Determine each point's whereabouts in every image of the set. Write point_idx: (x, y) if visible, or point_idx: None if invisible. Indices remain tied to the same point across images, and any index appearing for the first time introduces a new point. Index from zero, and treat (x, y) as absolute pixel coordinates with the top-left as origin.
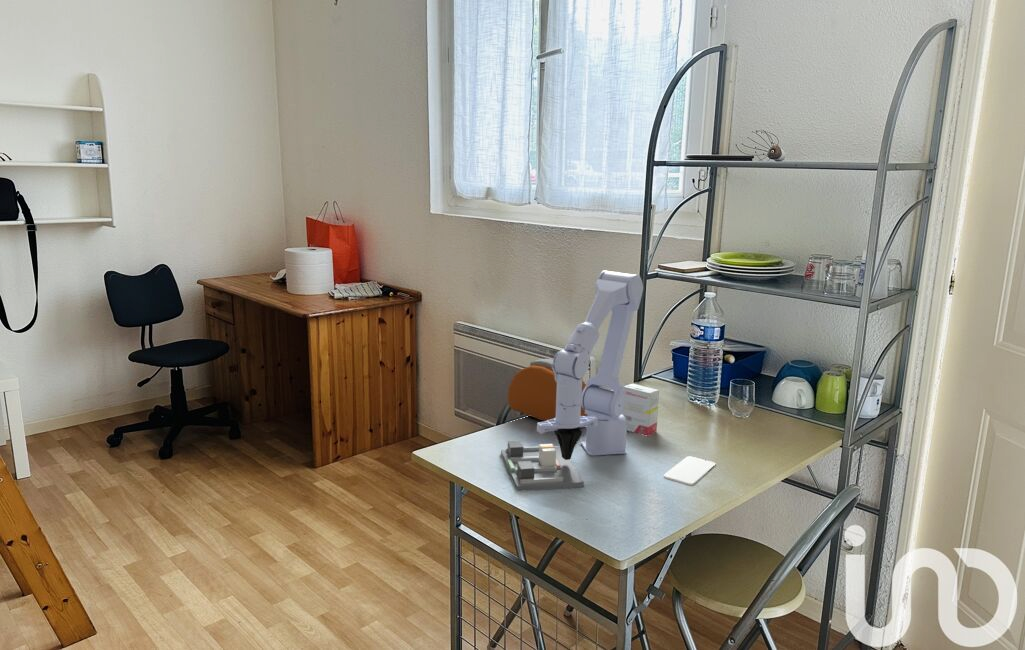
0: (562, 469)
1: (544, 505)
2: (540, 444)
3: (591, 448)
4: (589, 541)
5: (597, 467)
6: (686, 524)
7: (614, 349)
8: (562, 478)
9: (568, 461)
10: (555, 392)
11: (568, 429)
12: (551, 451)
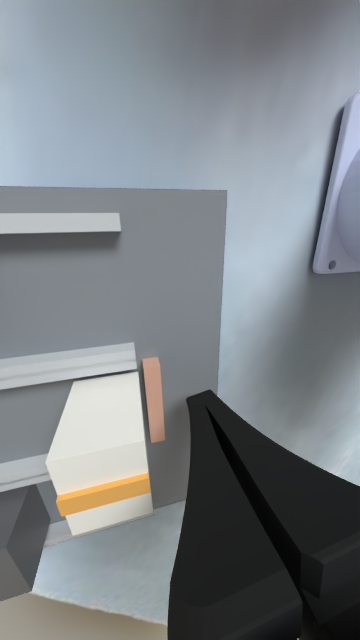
0: (169, 432)
1: (85, 564)
2: (54, 464)
3: (349, 238)
4: (158, 617)
5: (291, 363)
6: None
7: None
8: (151, 513)
9: (209, 370)
10: None
11: (314, 631)
12: (125, 514)
